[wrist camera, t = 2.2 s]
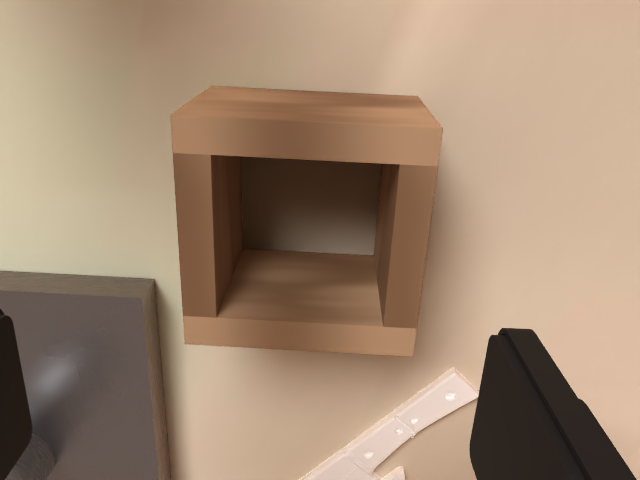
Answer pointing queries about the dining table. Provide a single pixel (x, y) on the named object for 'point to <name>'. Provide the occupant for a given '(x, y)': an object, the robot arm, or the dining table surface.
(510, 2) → the dining table surface
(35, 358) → the post stand
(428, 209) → the wooden box
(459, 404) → the butcher knife
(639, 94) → the dining table surface
